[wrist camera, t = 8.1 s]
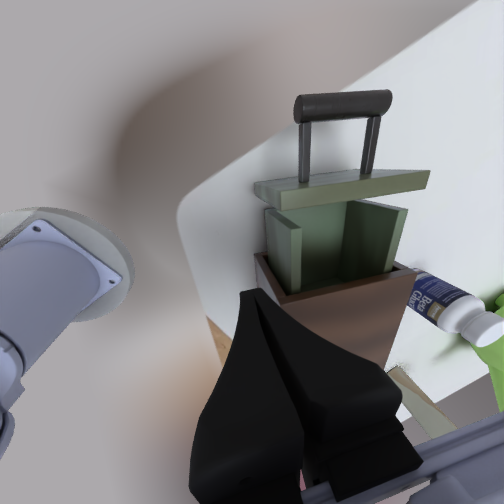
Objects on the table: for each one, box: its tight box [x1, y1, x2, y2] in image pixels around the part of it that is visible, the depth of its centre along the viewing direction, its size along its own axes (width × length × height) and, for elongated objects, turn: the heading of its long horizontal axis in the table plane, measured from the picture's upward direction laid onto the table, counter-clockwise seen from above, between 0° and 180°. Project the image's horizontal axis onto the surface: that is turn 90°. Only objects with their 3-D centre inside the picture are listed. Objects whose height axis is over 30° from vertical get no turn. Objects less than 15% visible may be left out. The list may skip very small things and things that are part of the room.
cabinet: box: [254, 251, 418, 370], centre depth 20 cm, size 14×12×9 cm
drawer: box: [254, 89, 431, 296], centre depth 16 cm, size 17×10×7 cm, turn 6°
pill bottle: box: [407, 269, 504, 347], centre depth 24 cm, size 5×5×10 cm
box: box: [387, 366, 458, 439], centre depth 35 cm, size 5×4×11 cm
